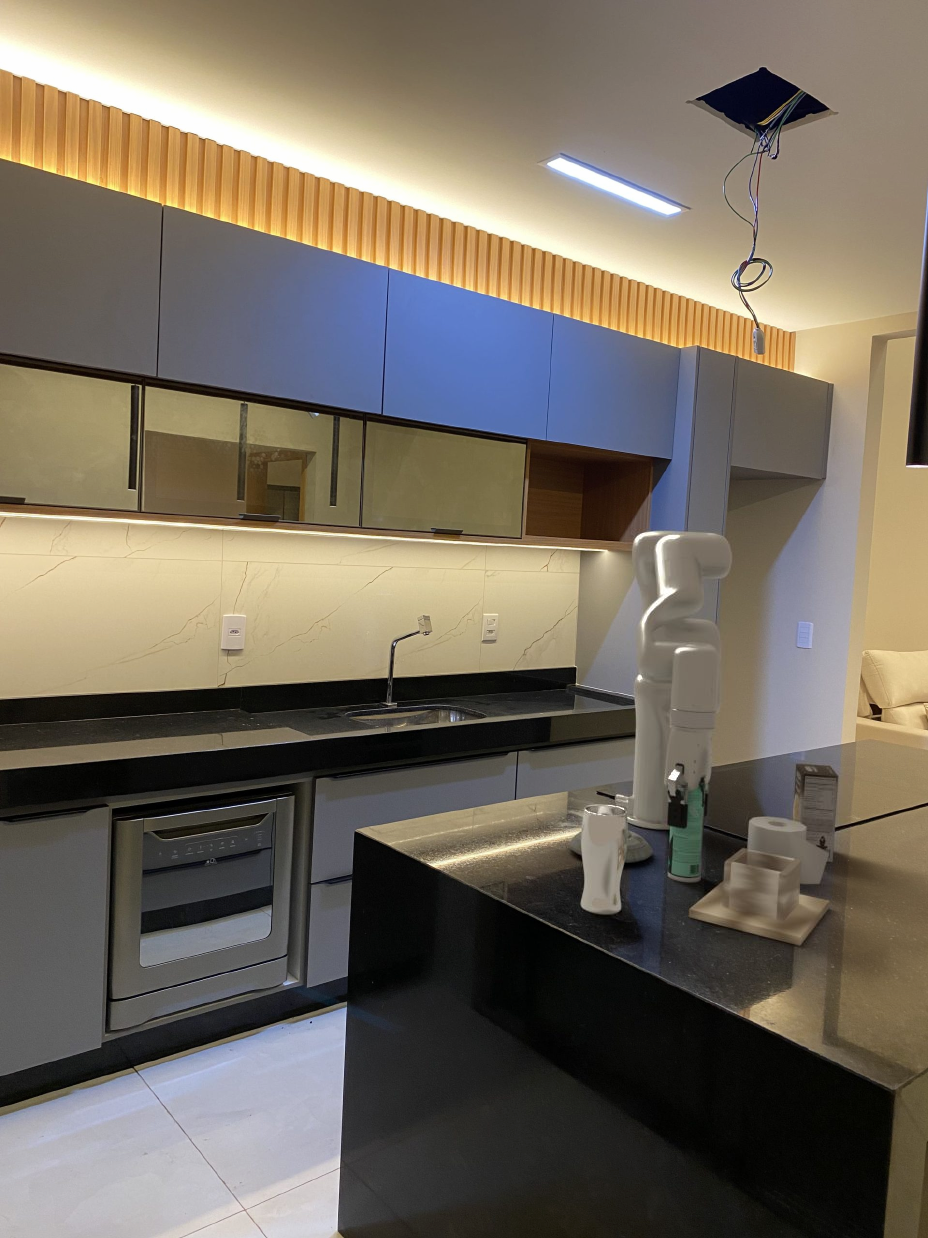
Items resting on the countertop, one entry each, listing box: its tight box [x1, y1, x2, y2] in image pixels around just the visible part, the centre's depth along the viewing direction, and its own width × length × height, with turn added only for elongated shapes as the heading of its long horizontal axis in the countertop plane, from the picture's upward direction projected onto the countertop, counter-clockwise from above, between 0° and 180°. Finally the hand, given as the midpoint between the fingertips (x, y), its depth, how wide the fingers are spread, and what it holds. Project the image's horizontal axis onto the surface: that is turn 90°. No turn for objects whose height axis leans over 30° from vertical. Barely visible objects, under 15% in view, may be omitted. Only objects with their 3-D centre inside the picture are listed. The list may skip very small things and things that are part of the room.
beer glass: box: [580, 803, 629, 915], centre depth 136 cm, size 7×7×15 cm
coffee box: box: [792, 763, 840, 863], centre depth 168 cm, size 9×6×16 cm
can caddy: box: [688, 847, 830, 946], centre depth 137 cm, size 16×18×8 cm
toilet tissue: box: [746, 816, 829, 885], centre depth 156 cm, size 9×13×9 cm
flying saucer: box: [568, 829, 654, 864], centre depth 163 cm, size 15×15×6 cm
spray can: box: [667, 773, 706, 883], centre depth 151 cm, size 6×6×20 cm
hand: (687, 821), depth 151 cm, fingers open, 9 cm apart
